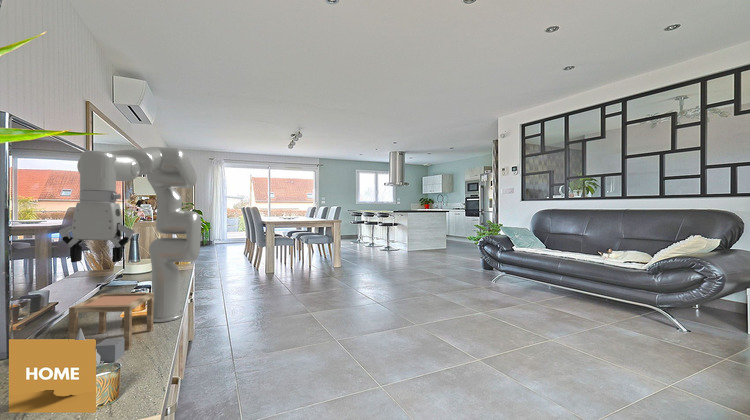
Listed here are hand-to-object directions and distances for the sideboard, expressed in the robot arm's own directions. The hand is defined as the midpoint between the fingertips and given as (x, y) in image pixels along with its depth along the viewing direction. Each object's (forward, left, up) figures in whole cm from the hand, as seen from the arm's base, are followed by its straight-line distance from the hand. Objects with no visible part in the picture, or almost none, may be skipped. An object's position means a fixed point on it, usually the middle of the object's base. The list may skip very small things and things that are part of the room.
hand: (96, 261), depth 92 cm
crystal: (+6, 0, -30) cm, 31 cm away
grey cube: (-9, -1, -30) cm, 31 cm away
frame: (-23, -7, -30) cm, 38 cm away
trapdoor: (-23, -7, -18) cm, 30 cm away
